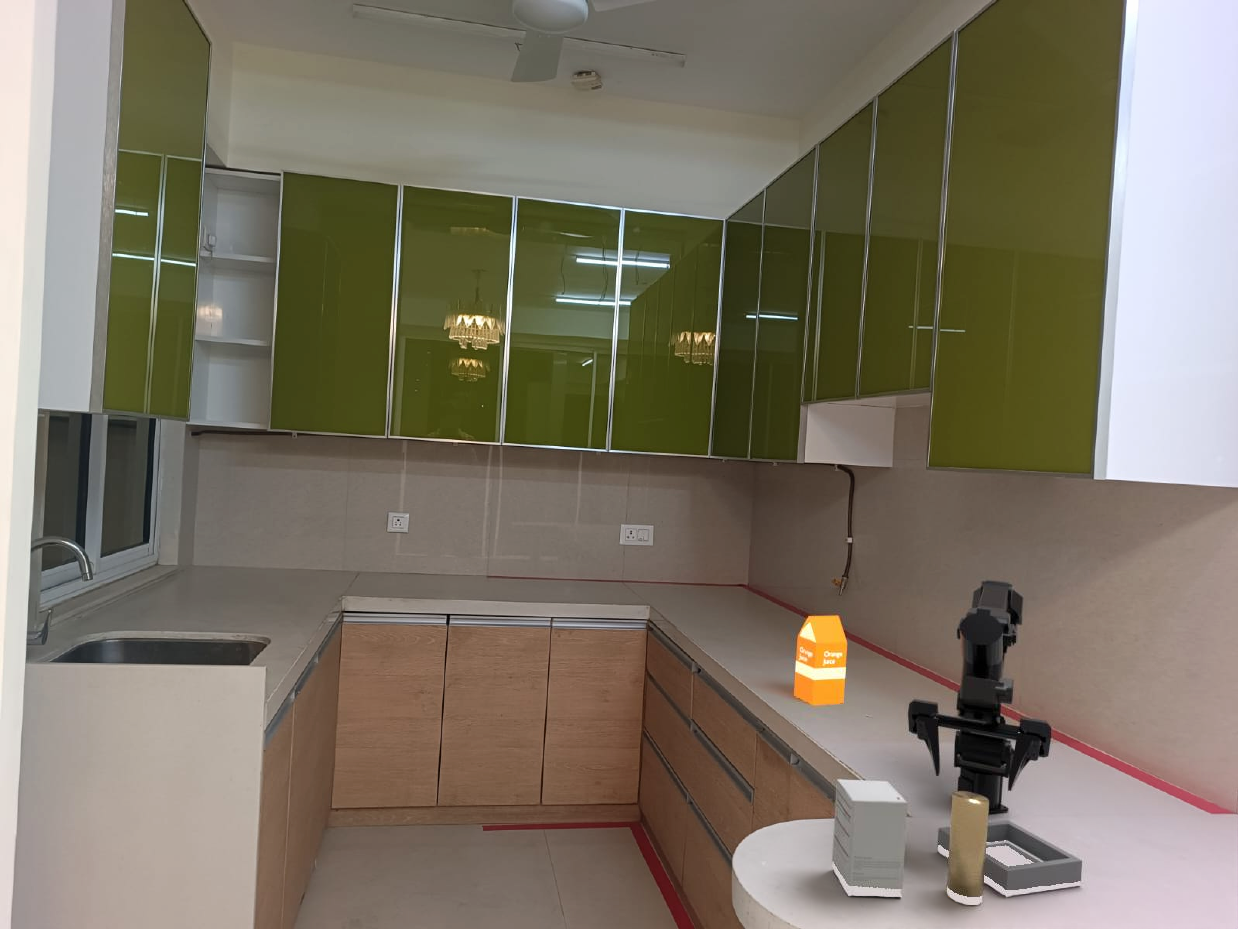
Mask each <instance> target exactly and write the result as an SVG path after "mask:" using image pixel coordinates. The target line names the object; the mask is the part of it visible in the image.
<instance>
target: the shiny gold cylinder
mask: <svg viewBox="0 0 1238 929" xmlns="http://www.w3.org/2000/svg"><path fill="white" fill-rule="evenodd" d="M951 798H952V799H951V812H950V813H951V814H950V826H949V827H950V842H949V857H948V859H947V860H948V862H947V874H946V876H947V877H946V887H947V886H948V888H949V889H950V890H952V891H953V892H954V893H957V894H959V895H963V896H967V897H980V896H982V895H983V896H984V888H985V887H984V886H985V885H984V884H985V883H984V872H985V857H986V842H987V826H988V822H989V813H988V811H989V800H988V799H987V798H986V797H984V796H982V795H979V794H976V793H972V792H967V791H955V792H953V793H952V796H951Z"/></svg>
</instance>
